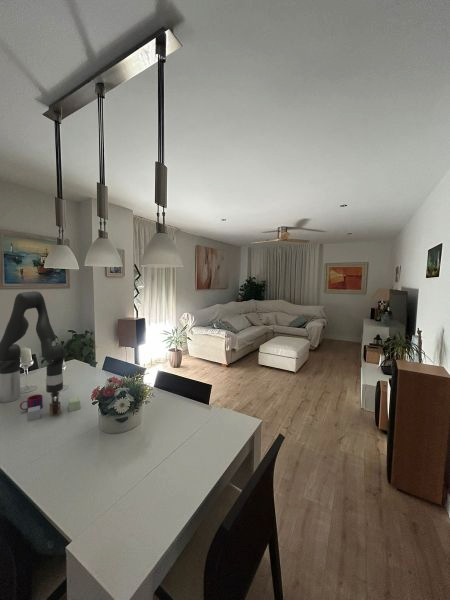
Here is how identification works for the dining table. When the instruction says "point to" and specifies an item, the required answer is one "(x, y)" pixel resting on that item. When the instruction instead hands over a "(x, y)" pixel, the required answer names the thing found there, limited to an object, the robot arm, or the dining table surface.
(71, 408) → the sage cube
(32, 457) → the dining table surface
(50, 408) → the walnut cube
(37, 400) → the mug
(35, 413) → the slate cube
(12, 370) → the robot arm
